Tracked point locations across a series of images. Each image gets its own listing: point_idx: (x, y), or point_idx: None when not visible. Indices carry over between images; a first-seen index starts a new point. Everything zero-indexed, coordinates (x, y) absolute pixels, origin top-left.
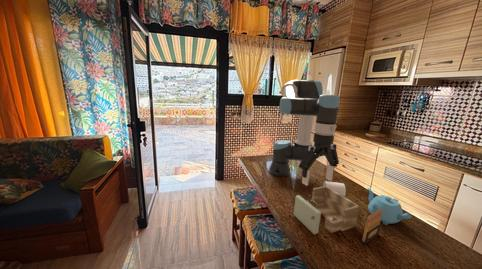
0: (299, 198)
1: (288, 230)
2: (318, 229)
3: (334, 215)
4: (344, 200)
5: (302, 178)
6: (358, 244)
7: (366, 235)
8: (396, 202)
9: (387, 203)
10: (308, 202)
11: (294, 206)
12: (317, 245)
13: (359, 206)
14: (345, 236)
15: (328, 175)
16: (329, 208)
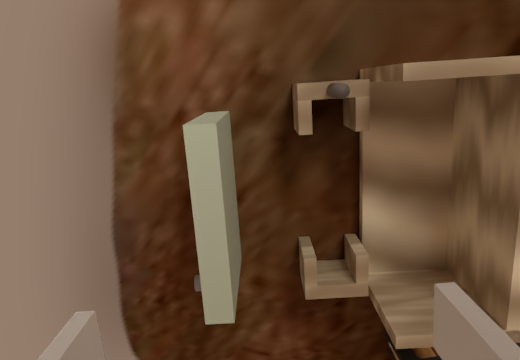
0: (190, 164)
1: (117, 208)
2: (240, 267)
3: (411, 197)
4: (505, 246)
5: (46, 348)
6: (357, 345)
7: None
8: None
9: None
10: (224, 222)
11: (197, 117)
12: (193, 307)
13: (515, 341)
14: (345, 303)
15: (458, 347)
16: (440, 138)
